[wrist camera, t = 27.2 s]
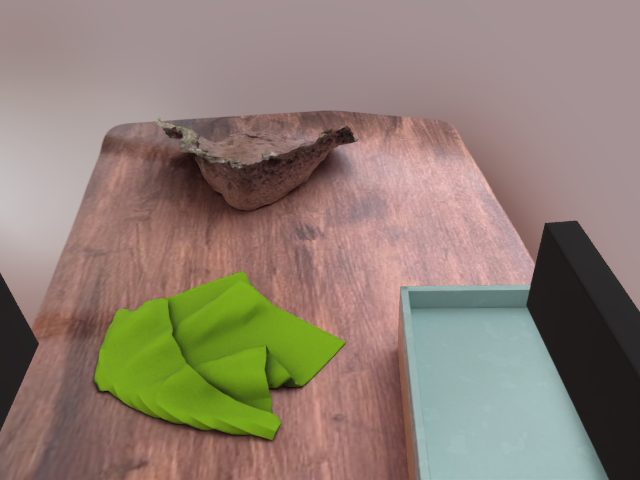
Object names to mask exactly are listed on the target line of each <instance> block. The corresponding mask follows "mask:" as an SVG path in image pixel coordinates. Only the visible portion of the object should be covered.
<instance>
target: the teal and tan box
mask: <svg viewBox="0 0 640 480" xmlns="http://www.w3.org/2000/svg"><path fill="white" fill-rule="evenodd" d="M530 286H531V285H469V286H401V287H400V305H399V326H398V347H397V349H398V361H399V372H400V384H401V395H402V406H403V418H404V429H405V441H406V452H407V464H408V475H409V480H609V479H608V477H607V475H606V472H605V470H604V468H603V466H602V464H601V462H600V460H599V458H598V456H597V454H596V451H595V449H594V447H593V445H592V443H591V441H590V439H589V437H588V435H587V432H586V430H585V428H584V426H583V424H582V422H581V420H580V418H579V416H578V414H577V411H576V409H575V407H574V405H573V403H572V401H571V399H570V397H569V395H568V393H567V390H566V388H565V386H564V384H563V382H562V380H561V378H560V376H559V374H558V371H557V369H556V367H555V365H554V363H553V361H552V359H551V357H550V355H549V353H548V350H547V348H546V346H545V344H544V342H543V340H542V338H541V336H540V334H539V331H538V329H537V327H536V325H535V323H534V321H533V319H532V317H531V315H530V313H529V310H528V308H527V306H526V303H527V299H528V295H529V290H530Z"/></svg>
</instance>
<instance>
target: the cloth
mask: <svg viewBox="0 0 640 480" xmlns="http://www.w3.org/2000/svg"><path fill="white" fill-rule="evenodd" d="M345 343H346V342H345V341H343V340H341V339H339V338H337V337H335V336H333V335H332V334H329V333H327V332H325V331H323V330H321V329H319V328H317V327H315V326H313V325H311V324H309V323H308V322H306V321H304V320H302V319H299V318H297V317H295V316H293V315H291V314H290V313H288V312H286V311H284V310H282V309H280V308H278V307H276V306H274V305H273V304H272V303H271V302H269V301H268V300H267V299H266V298H265V297H264V296H262V295H261V294H260V293H259V292H258V291H257V290H256V289H255V288H253V287H252V285H251V283H250V281H249V280H248V278H247V276H246V274H245V273H244V271H241V272H238V273H235V274H232V275H229V276H226V277H223V278H220V279H218V280H215V281H212V282H209V283H207V284H204V285H201V286H198V287H195V288H193V289H190V290H188V291H185V292H183V293H180V294H178V295H175V296H172V297H169V298H162V299H155V300H150V301H147V302H144V303H143V304H142V306H141V307H140V308H139V309H137V310H135V311H130V310H127V309H125V308H124V309H122V310H119V311H117V312H116V314H115V317H114V319H113V322H112V324H111V325H110V327H109V328H108V330H107V333H106V336H105V339H104V342H103V345H102V346H101V348H100V352H99V358H98V363H97V365H96V371H95V376H94V382H95V384H96V386H97V388H98V390H99V392H100V391H108V390H109V391H110V392H111V393H112V394H113V395H114V396H115V397H117V398H119V399H120V400H122V401H123V402H124V403H125V404H127V405H128V406H130V407H132V408H134V409H136V410H139V411H142V412H144V413H145V414H147V415H149V416H152V417H155V418H163V419H164V420H167V421H169V422H171V423H174V424H187V425H190V426H192V427H194V428H197V429H200V430H219V431H222V432H226V433H229V434H234V435H250V434H254V435H257V436H260V437H264V438H267V439H270V440H273V438H274V435H275V432H276V431H277V429H278V427H279V425H280V424H281V421H280V420H279V418H278V417H277V416H276V415H275V414H273V413H272V404H271V396H270V392H269V388H276V389H277V388H279V387H281V386H283V385H284V386H287V387H299V386H303V385H305V384H306V383H308V382H309V381H310V380H311V379H312V378H313V377H314V376H315V375H316V374H317V373H318V372H319V371H320V370H321V369H322V368H323V367H324V366H325V364H326V363H327V362H328V361H329V360H330V359H331V358H332V357H333V356H334V355H335V354H336V353H337V352H338V351H339V350H340V348H341V347H342V346H343V345H344V344H345Z"/></svg>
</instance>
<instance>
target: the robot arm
mask: <svg viewBox="0 0 640 480" xmlns="http://www.w3.org/2000/svg"><path fill="white" fill-rule="evenodd" d="M526 306H527V308H528V310H529V313H530V315H531V317H532V319H533V321H534V323H535V325H536V327H537V329H538V331H539V334H540V336H541V338H542V340H543V342H544V344H545V346H546V348H547V350H548V353H549V355H550V357H551V359H552V361H553V363H554V365H555V367H556V369H557V371H558V374H559V376H560V378H561V380H562V382H563V384H564V386H565V388H566V390H567V393H568V395H569V397H570V399H571V401H572V403H573V405H574V407H575V409H576V411H577V414H578V416H579V418H580V420H581V422H582V424H583V426H584V428H585V430H586V432H587V435H588V437H589V439H590V441H591V443H592V445H593V447H594V449H595V451H596V454H597V456H598V458H599V460H600V462H601V464H602V466H603V468H604V470H605V472H606V475H607V477H608V479H609V480H640V312H639V310H638V309H637V307H636V306H635V304H634V303H633V302H632V300H631V299H630V297H629V296H628V294H627V293H626V291H625V290H624V288H623V287H622V285H621V284H620V282H619V281H618V280H617V278H616V277H615V275H614V274H613V272H612V271H611V269H610V268H609V266H608V265H607V264H606V262H605V261H604V259H603V258H602V256H601V255H600V253H599V252H598V251H597V249H596V248H595V246H594V245H593V243H592V242H591V240H590V239H589V237H588V236H587V234H586V233H585V232H584V230H583V229H582V227H581V226H580V224H579V223H578V222H577V221H566V222H554V223H545V226H544V230H543V234H542V239H541V243H540V247H539V252H538V256H537V260H536V265H535V269H534V273H533V277H532V282H531V286H530V290H529V295H528V299H527V303H526ZM38 345H39V343H38V341H37V339H36V338H35V336H34V334H33V332H32V330H31V328H30V327H29V325H28V323H27V321H26V319H25V318H24V316H23V314H22V312H21V310H20V309H19V306H18V305H17V303H16V301H15V299H14V297H13V295H12V294H11V292H10V290H9V288H8V286H7V284H6V283H5V281H4V279H3V277H2V275H1V273H0V431H1V428H2V426H3V424H4V422H5V419H6V417H7V415H8V413H9V410H10V408H11V406H12V403H13V401H14V399H15V397H16V394H17V392H18V390H19V388H20V385H21V383H22V381H23V379H24V376H25V374H26V372H27V370H28V367H29V365H30V363H31V361H32V358H33V356H34V354H35V351H36V349H37V347H38Z"/></svg>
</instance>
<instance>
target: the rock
mask: <svg viewBox="0 0 640 480" xmlns="http://www.w3.org/2000/svg"><path fill="white" fill-rule="evenodd" d="M156 123H157V124H158V125H160V126H162V127H163V129H164V131H165V133H166V134H167V135H168V136H169V137H170V138H176V139H181V142H179V143H180V149H181V150H182V152H185V153H195V160H196V162H197V163H198V165H199V167H200V170H201V172H202V175H203V177H204V178H205V179H206V180H207V182H208V183H209V184H210V185H211V186H212V187H213V189H214V190H215V191H217V192H219V193H221V194H222V195H223V197H224V199H225V201H226V202H227V203H228V204H229V205H231V206H232V207H234V208H236V209H239V210H241V209H244V210H247V211H250V210H254V209H256V208H258V207H261V206H263V205H266V204H272V203H273V202H275V201H277V200H278V199H280V198H282V197H284V196H285V195H287V193H288V192H289V191H291V190H292V189H294V188H296V187H297V186H298V185H299V184H301V183H302V182H307V180H308V177H309V176H310V175H311V173H312V172H313V170H314V169H315V168H316V167H317V166H318V165H319V163H320V162H321V161H323V160H324V159H325V158H326V156H327V154H328V153H329V152H330V151H331V150H332V149H334V148H335V147H337V146H339V145H343V144H348V143H353V142H356V141H358V140H357V139H354V137H353V133H352V132H351V129H350V128H349V127H348V125H347V126H344V127H342V126H340V127H339V129H335V130H332V129H333V128H332V129H327V130H326V129H325V131H324V132H322V133H320V134H319V138H318V139H317V140H316V141H311V140H307V139H295V138H288V137H287V136H286V135H278V134H260V133H258V132H247V131H244V132H241V133H238V132H236V133H233V134H231V135H229V136H228V137H227V138H226V139H225V140H224V141H221V142H217V143H213V142H211V141H208V140H205V139H204V138H202V137H200V135H199V134H197V133H195V132H194V131H193V130H189V129H187V128H184V127H185V126H183V127H177V126H175V125H173V124H171V123H162V122H161V121H160V118H159V117H158V122H156ZM181 123H182V122H181Z"/></svg>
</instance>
